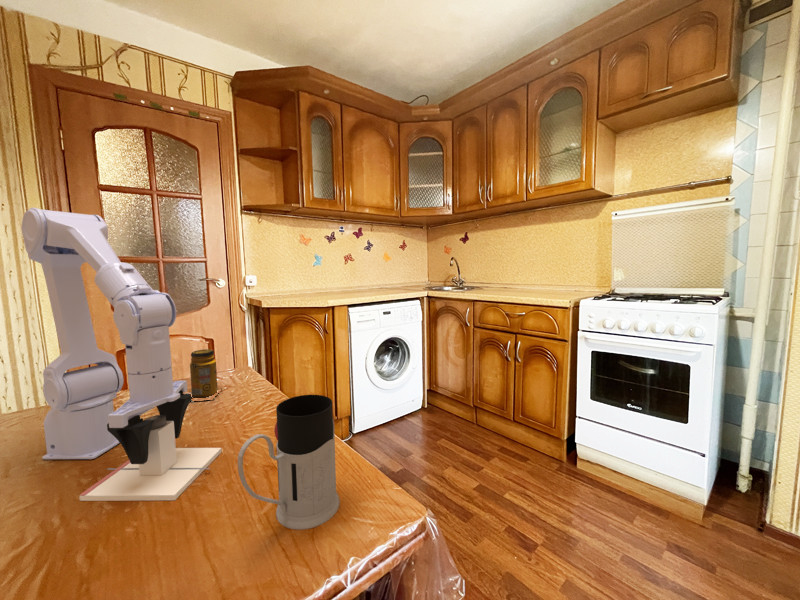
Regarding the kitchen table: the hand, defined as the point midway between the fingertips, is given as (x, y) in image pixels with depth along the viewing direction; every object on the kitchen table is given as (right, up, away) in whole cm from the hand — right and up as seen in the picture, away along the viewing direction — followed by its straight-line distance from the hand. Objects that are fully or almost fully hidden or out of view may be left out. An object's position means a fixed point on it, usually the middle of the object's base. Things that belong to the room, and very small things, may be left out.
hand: (156, 449), depth 56 cm
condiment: (-12, -1, +34) cm, 37 cm away
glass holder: (+25, -5, -10) cm, 28 cm away
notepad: (0, -4, 0) cm, 4 cm away
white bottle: (0, -3, 0) cm, 3 cm away
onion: (+20, -4, +8) cm, 22 cm away
